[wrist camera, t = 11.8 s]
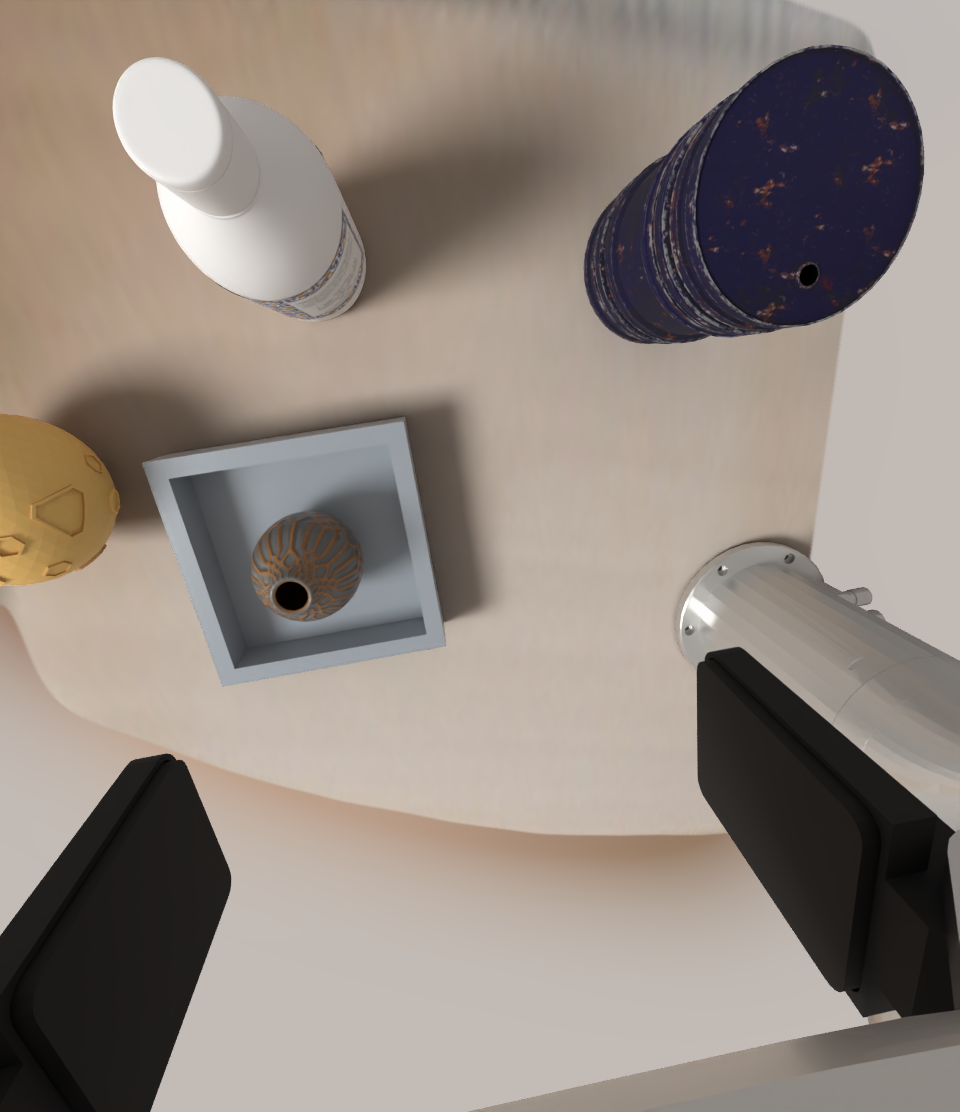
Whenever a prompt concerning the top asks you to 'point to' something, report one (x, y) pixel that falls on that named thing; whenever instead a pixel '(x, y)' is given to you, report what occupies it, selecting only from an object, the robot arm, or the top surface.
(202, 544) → the bin
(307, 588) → the vase
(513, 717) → the top surface
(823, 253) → the storage jar
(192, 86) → the bath foam
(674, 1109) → the robot arm
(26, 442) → the stress ball
